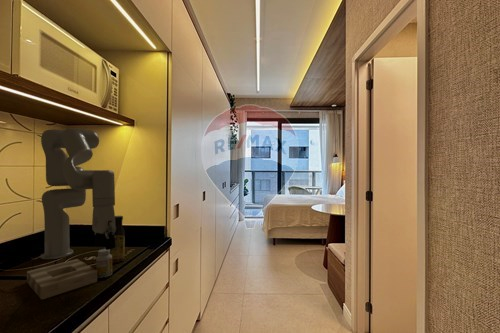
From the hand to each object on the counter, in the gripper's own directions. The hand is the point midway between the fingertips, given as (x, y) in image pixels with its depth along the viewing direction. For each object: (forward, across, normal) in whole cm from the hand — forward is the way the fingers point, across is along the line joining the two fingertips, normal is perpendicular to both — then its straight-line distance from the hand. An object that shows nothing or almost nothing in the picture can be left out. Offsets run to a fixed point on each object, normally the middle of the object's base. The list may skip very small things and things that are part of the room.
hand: (104, 246), depth 98 cm
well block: (+11, -7, -12) cm, 18 cm away
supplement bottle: (+11, -1, 0) cm, 11 cm away
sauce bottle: (+11, -13, +10) cm, 20 cm away
